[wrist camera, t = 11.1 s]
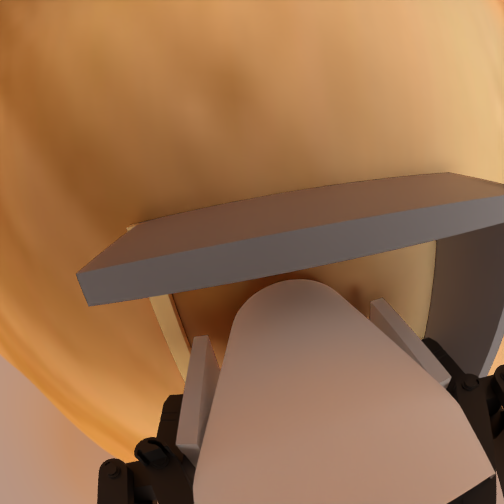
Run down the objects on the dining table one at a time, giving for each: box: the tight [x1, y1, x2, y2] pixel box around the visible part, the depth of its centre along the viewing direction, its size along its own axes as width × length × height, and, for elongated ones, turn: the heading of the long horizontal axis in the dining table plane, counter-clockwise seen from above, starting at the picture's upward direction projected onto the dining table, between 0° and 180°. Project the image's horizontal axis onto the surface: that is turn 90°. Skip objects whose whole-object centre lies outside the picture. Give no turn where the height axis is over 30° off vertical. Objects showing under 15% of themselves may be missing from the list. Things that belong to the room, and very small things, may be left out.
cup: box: [193, 279, 496, 504], centre depth 9 cm, size 9×9×12 cm
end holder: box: [76, 172, 504, 382], centre depth 13 cm, size 14×20×7 cm
